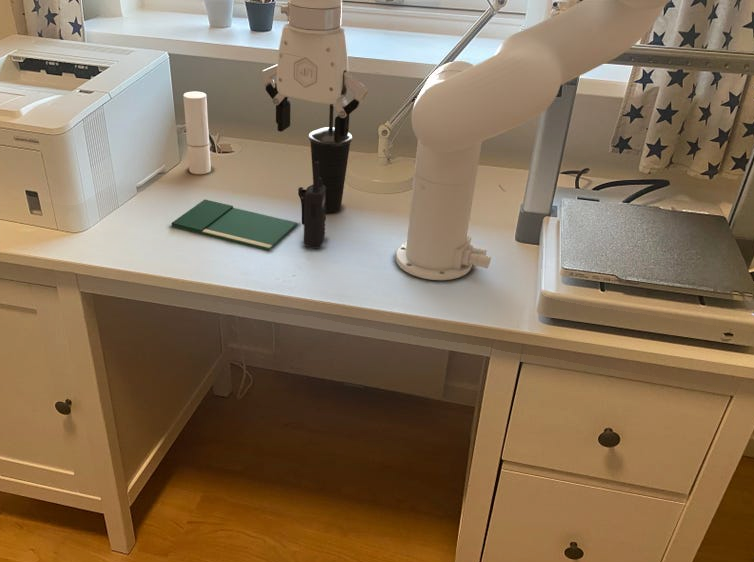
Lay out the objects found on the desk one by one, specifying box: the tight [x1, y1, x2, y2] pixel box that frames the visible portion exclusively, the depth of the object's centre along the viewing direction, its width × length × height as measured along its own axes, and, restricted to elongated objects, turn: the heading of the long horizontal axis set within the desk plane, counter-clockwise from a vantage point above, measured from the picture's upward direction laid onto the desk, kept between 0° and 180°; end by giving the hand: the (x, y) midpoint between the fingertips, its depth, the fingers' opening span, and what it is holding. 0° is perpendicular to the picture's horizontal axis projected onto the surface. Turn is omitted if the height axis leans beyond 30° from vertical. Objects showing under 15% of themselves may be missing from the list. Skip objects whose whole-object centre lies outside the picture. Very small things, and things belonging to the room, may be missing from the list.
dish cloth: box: [171, 199, 298, 251], centre depth 133 cm, size 19×11×1 cm, turn 67°
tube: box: [182, 90, 212, 175], centre depth 148 cm, size 4×4×15 cm
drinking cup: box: [308, 104, 353, 214], centre depth 135 cm, size 8×8×20 cm
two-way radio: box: [297, 161, 327, 249], centre depth 125 cm, size 6×4×15 cm
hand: (311, 134), depth 118 cm, fingers open, 9 cm apart
